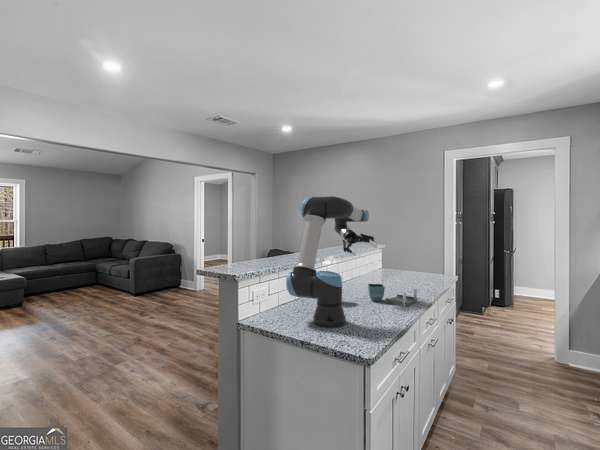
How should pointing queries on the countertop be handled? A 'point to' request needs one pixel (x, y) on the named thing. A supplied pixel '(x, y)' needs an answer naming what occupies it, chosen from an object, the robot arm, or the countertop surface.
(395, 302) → the tray
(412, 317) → the countertop surface
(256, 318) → the countertop surface
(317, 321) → the robot arm
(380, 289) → the flower pot
